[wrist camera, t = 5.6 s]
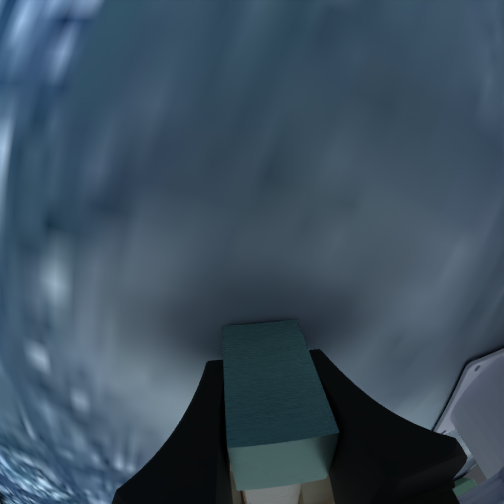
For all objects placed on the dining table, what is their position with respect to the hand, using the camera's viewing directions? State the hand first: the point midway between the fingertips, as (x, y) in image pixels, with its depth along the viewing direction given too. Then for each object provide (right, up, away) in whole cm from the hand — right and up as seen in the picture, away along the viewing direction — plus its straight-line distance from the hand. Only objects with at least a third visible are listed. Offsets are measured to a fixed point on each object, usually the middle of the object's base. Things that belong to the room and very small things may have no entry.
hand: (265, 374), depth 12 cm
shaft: (0, -9, +6) cm, 11 cm away
